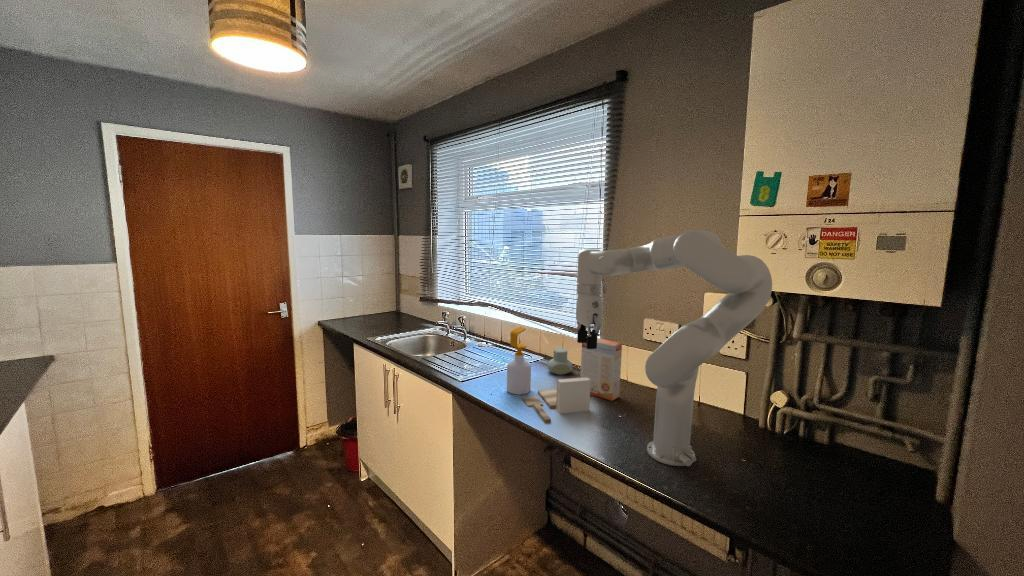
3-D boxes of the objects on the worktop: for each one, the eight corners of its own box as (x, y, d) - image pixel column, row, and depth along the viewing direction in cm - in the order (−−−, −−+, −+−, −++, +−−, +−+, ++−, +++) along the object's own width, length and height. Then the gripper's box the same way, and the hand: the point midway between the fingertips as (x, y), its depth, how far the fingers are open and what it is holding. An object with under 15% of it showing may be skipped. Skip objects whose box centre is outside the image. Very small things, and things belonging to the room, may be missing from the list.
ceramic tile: (589, 410, 146) (590, 380, 145) (559, 413, 143) (560, 382, 142) (585, 407, 149) (586, 377, 147) (556, 409, 146) (557, 379, 145)
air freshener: (548, 375, 180) (548, 352, 178) (546, 369, 188) (546, 347, 187) (573, 376, 180) (574, 353, 178) (570, 369, 188) (571, 347, 187)
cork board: (587, 404, 151) (587, 402, 151) (550, 408, 147) (550, 405, 147) (572, 390, 164) (572, 387, 164) (537, 393, 161) (538, 390, 160)
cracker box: (620, 397, 158) (623, 342, 155) (611, 401, 154) (614, 345, 151) (587, 387, 167) (590, 335, 164) (579, 391, 163) (581, 338, 160)
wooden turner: (556, 422, 137) (556, 418, 137) (539, 423, 136) (539, 420, 136) (536, 398, 156) (537, 394, 156) (522, 399, 155) (522, 396, 155)
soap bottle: (535, 392, 162) (536, 329, 158) (515, 397, 157) (516, 332, 153) (521, 384, 169) (522, 324, 165) (502, 389, 164) (503, 327, 160)
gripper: (613, 293, 124) (610, 352, 127) (588, 285, 141) (586, 338, 143) (589, 294, 122) (587, 354, 125) (567, 285, 139) (565, 339, 141)
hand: (586, 345), depth 134 cm, fingers open, 6 cm apart
